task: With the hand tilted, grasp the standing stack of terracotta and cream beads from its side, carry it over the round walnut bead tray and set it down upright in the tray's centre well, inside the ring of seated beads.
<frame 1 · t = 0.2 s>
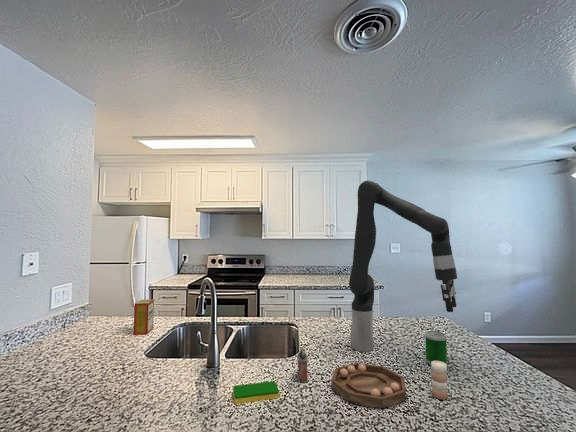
hand: (451, 309, 116), 22 cm above the countertop, tool pointing down, fingers open, 8 cm apart
soda can: (436, 364, 119), on the countertop
baking soda box: (143, 332, 157), on the countertop
seated beads: (368, 380, 100), in the bead tray, point 2 cm above the countertop
dish sponge: (255, 396, 96), on the countertop
bead stack: (439, 395, 95), on the countertop
bead tray: (368, 387, 100), on the countertop
lighter: (302, 378, 107), on the countertop
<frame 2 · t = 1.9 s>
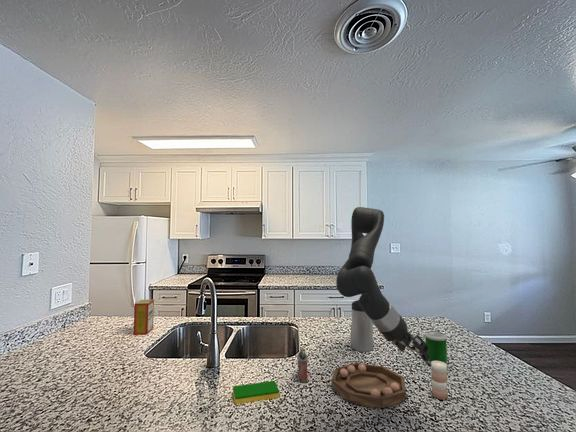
hand: (415, 353, 91), 15 cm above the countertop, tool tilted 45°, fingers open, 8 cm apart
nothing on the countertop moved.
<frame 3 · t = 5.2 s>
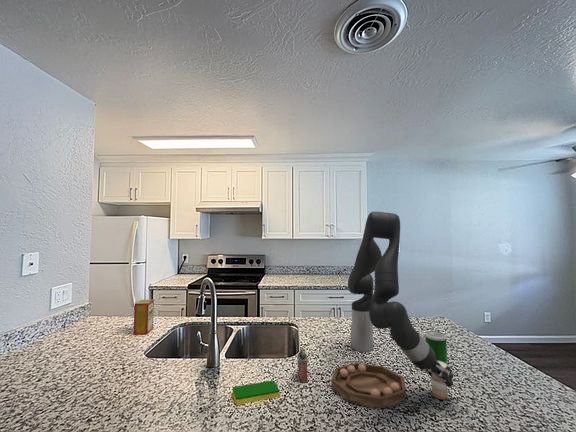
hand: (443, 381, 97), 4 cm above the countertop, tool tilted 45°, fingers closed on bead stack, 4 cm apart
bead stack: (439, 395, 96), on the countertop, touching gripper
everything else where it was.
when the fingers open (6 cm above the countertop, at t = 10.3 s): bead stack stays where it is, resting on bead tray.
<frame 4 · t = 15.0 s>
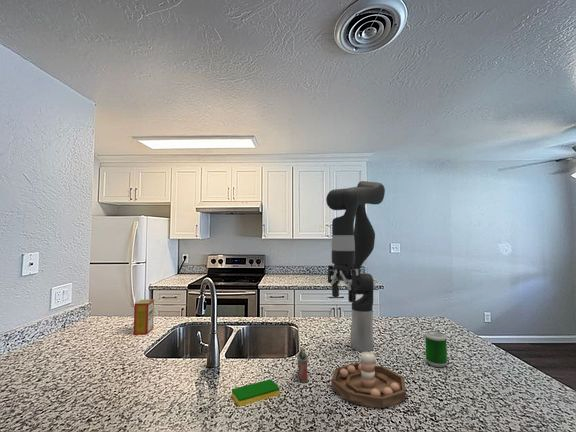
hand: (343, 299, 97), 30 cm above the countertop, tool pointing down, fingers open, 8 cm apart
bead stack: (367, 384, 100), point 1 cm above the countertop, touching bead tray
at the end: bead stack inside the target area on the bead tray (0.1 cm from its centre), point 1.0 cm above the bead tray's base; bead stack tilted 0°; the gripper is holding nothing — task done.
